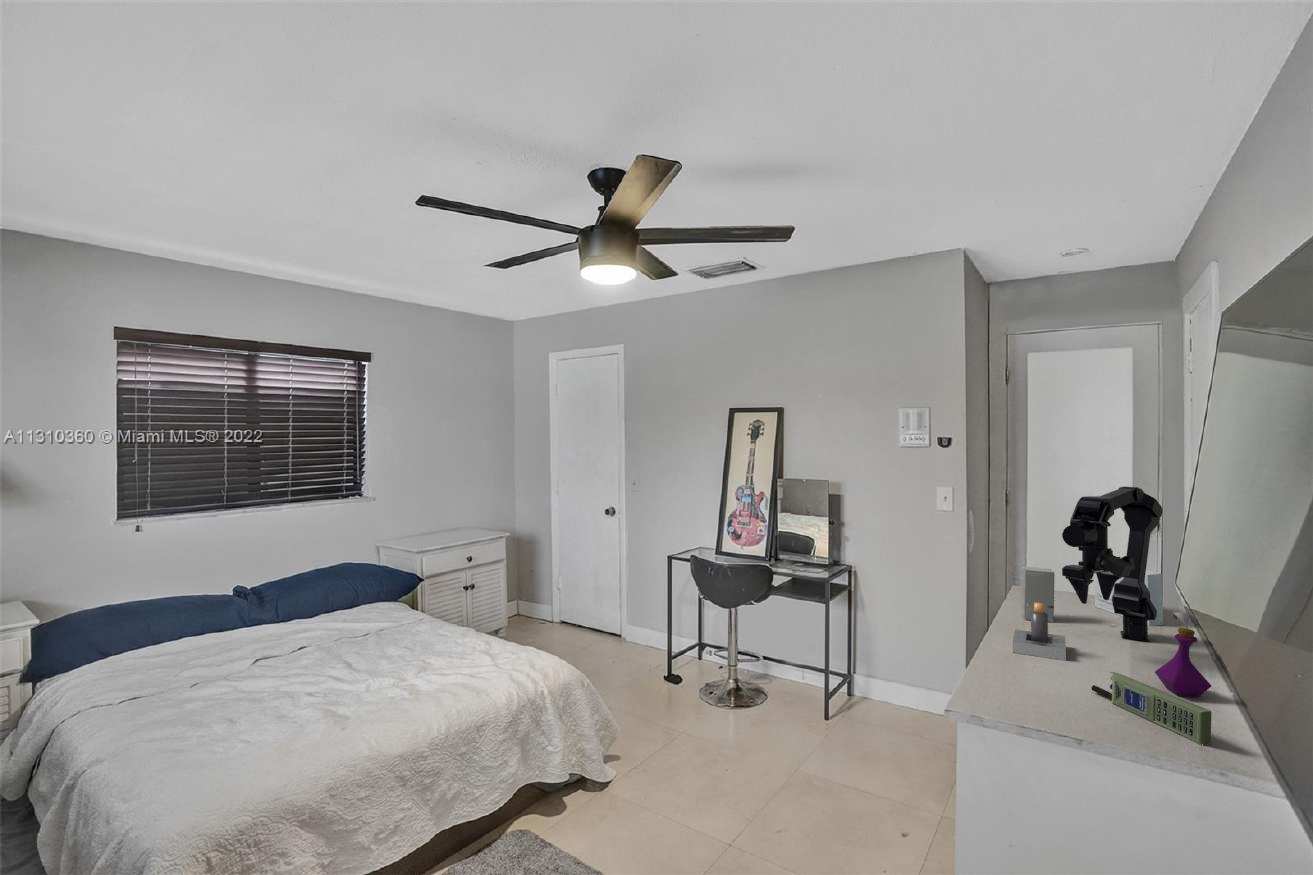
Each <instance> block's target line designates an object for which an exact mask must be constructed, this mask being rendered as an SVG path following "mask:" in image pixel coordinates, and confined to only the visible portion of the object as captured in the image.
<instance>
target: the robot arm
mask: <svg viewBox="0 0 1313 875" xmlns="http://www.w3.org/2000/svg"><path fill="white" fill-rule="evenodd" d="M1118 509H1121V511H1122V512H1123V514H1124V517H1123V519H1124V521H1125V523H1126V524H1127V527H1128V528H1129V531H1128V532H1129V534H1128V541H1127V546H1126V547H1127V549H1126V555H1124V556H1122V557H1121V556H1116V555H1114V554H1113V552H1114V551H1113V549H1112V548H1111V547H1109V545H1108V543H1109V540H1108V539H1109V538H1108V537H1109V535H1108V534H1109V533H1108V531H1109V529H1108V527H1111V526H1112V525H1111V523H1110V522H1109V520H1110V518H1112V517H1113V516H1114V515H1115V510H1118ZM1162 516H1163V507H1162V505H1161V504H1160V502H1159V501H1158V500H1157V499H1156V498H1155V497H1153V496H1151V495H1149V494H1147V493H1146V492H1145V491H1144V490H1143V489H1142V488H1140V487H1137V486H1121V487H1119V488H1118V489H1115V490H1113V491H1110V492H1107V493H1104V494H1102V495H1098V496H1097V495H1095V496H1092V495H1089V496H1088V495H1087V496H1081V497H1080V498H1079V499H1078V501H1077V502H1076V505H1075V507H1074V510H1073V513H1072V515H1071V517H1070V519H1069V520H1070V522H1069V525H1068V526H1066V527H1064V529H1063V531H1062V533H1061V536H1062V539H1063V541H1064V543H1065V544H1066V545H1068V546H1069V547H1072V548H1078V549H1077V550H1078V551H1081V559H1082V560H1081V561H1080V560H1079V561H1078V564H1068V565H1064V566H1063V567H1062V568H1061V575H1062V577H1065V579H1066V580H1068V582H1069V583H1070V585H1071V587H1072V588H1073V590H1074V591H1075V593H1076V595H1077V597H1078V599H1079V601H1080V602H1081V604H1084V605H1086V604H1088V603H1087V602H1088V596H1089V586H1090V584H1092V583H1093V582H1094V573H1096V575H1097V578H1098V582H1099V586H1100V589H1101V593H1102V596H1103V599H1104V600H1109V597H1110V595H1111V592H1112V589H1113V587H1114V593H1113V595H1112V603H1113V608H1114V612H1115V613H1116V614H1115V615H1117V614H1122V615H1123V616H1122V630H1120V636H1121V638H1122V639H1123V640H1124V639H1125V640H1134V641H1140V642H1141V641H1143V642H1148V643H1149V642H1150V643H1151V642H1152V641H1151V637H1150V634H1149V632H1148V630H1149V629H1148V628H1149V626H1148V620H1155V618H1156V616H1157V610H1156V608H1155V607H1154V605H1153V603H1152V602H1151V600H1150V592H1149V590H1148V588H1147V586H1146V585H1145V574H1146V570H1147V566H1148V565H1147V564H1148V557H1149V549H1150V540H1151V533H1152V531H1154V529H1156V527H1157V526H1159V524H1160V520H1161V517H1162ZM1122 577H1124V578H1123V579H1122V580H1121V581H1120V582H1119V583H1116V584H1115V582H1116V581H1117V580H1118V579H1120V578H1122Z"/></svg>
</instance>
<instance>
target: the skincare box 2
mask: <svg viewBox="0 0 1313 875" xmlns="http://www.w3.org/2000/svg"><path fill="white" fill-rule="evenodd" d="M1123 578H1124V577H1122V578H1120V579H1118V580H1117V581H1116V582H1115V584H1116V583H1119V582H1120V581H1121V580H1122V579H1123ZM1093 580H1094V581H1093V582H1094V603H1095V604H1094V607H1095V608H1098V609H1100V610H1103V611H1106V612H1109V613H1111V614H1115V615H1117V616H1120V617H1123V615H1122V614H1116V613H1115V612H1114V608H1113V603H1112V595H1113V593H1114V587H1113V589H1112V592H1111V595H1110V597H1109V600H1104V599H1103V596H1102V593H1101V589H1100V586H1099V582H1098V578H1097V575H1096V573H1094V576H1093ZM1145 585H1146V586H1147V588H1148V590H1149V592H1150V600H1151V602H1152V603H1153V605H1154V607H1155V608H1156V610H1157V616H1156V618H1155V620H1148V627H1150V626H1152V627H1153V626H1154V627H1155V626H1163V625H1164V611H1163V610H1164V609H1163V608H1164V606H1163V605H1164V603H1163V602H1164V601H1163V599H1164V598H1163V597H1164V596H1163V575H1162V573H1160V572H1156V571H1153V570H1148V569H1146V574H1145Z"/></svg>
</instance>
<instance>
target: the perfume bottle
mask: <svg viewBox="0 0 1313 875" xmlns="http://www.w3.org/2000/svg"><path fill="white" fill-rule="evenodd" d="M1172 617H1173V619H1174V620H1176V621H1177V620H1180V621H1181V622H1182V623H1183V624H1184V625H1185V626H1184V627H1185V628H1184V627H1178V628H1177V632H1178V633H1177V634H1175V635H1174V639H1176V640H1177V642H1178V644H1179V645H1178V648H1177V651H1176V653H1175V655H1174V656H1173V657H1172V659H1170V660H1169V661H1168V662H1166V663H1165V664H1163V665H1162V666H1160V667H1159V668H1157V669H1156V670H1154V673H1155V676H1157V678H1158V679H1159V680H1160V682H1161V683H1162V684H1163V686H1164V687H1165V689H1167V690H1168V691H1169V692H1171V693H1172V694H1174V696H1176V697H1189V698H1199V697H1201V695H1203V694H1204V693H1205V692H1207V691H1208V690H1210V688H1212V684H1211V683H1210V681H1208V680H1207V679H1206V678H1205V677H1204V675H1203V674H1202V673H1201V672H1200V671H1199V670H1198V668H1197V667H1196V666H1195V665H1194V664H1193V663H1192V660H1191V658H1190V648H1191V646H1192V645H1193V644H1194V643H1197V642H1198V637H1195V633H1196V631H1194V630H1193V629H1190V628H1187V624H1188V623H1189V621H1190V614H1188V613H1187V612H1172Z"/></svg>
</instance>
